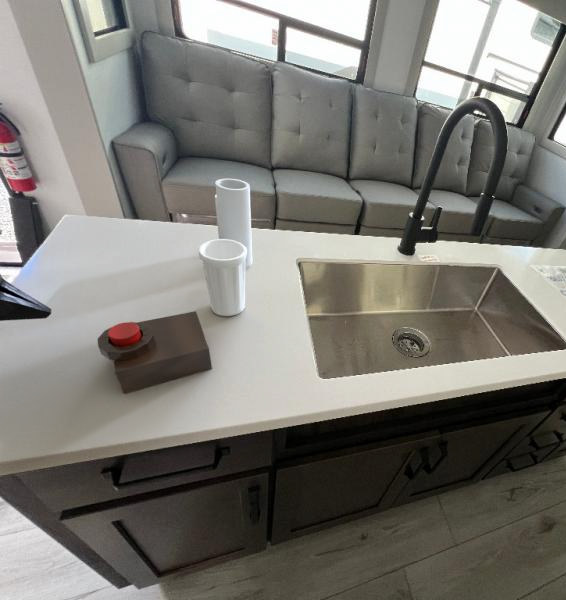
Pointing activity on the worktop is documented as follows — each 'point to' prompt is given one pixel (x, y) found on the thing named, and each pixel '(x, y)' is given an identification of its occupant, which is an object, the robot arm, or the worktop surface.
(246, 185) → the vase
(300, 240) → the worktop surface
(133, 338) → the led button
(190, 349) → the switch block
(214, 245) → the cup
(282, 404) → the worktop surface
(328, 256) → the worktop surface
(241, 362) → the worktop surface
